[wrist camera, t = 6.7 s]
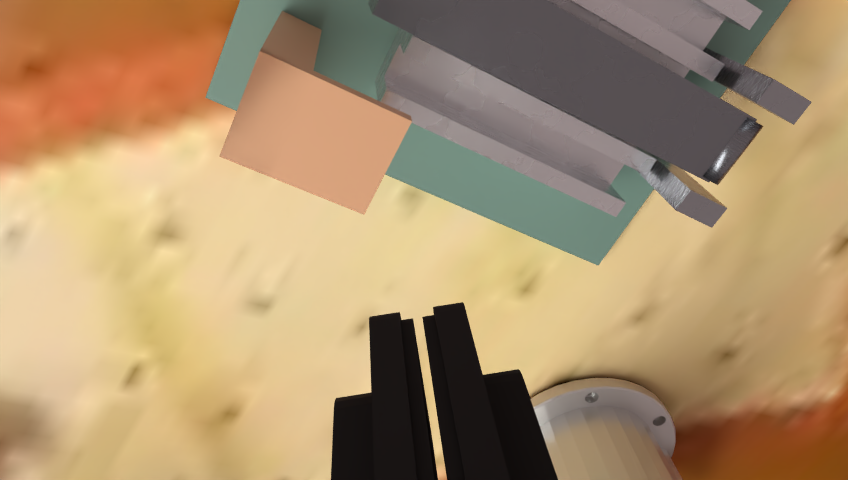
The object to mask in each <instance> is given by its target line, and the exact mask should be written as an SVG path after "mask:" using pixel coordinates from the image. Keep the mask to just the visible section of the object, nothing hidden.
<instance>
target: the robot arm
mask: <svg viewBox="0 0 848 480" xmlns="http://www.w3.org/2000/svg"><path fill="white" fill-rule="evenodd" d="M433 311H434V315H432V316H425V317H423V323H424V330H425V337H426V343H427V350H428V356H429V363H430V370H431V376H432V383H433V390H434V396H435V403H436V409H437V416H438V423H439V429H440V436H441V442H442V449H443V455H444V462H445V468H446V474H447V480H683V479H682V477H681V476H680V474H679V472H678V470H677V468H676V467H675V465H674V463H673V461H672V459H671V457H672V455H673V452H674V448H675V443H676V431H675V426H674V423H673V420H672V417H671V416H670V414H669V412H668V411H667V409H666V407H665V406H664V404H663V403H662V402H661V401H660V400H659V398H658V397H657V396H656V395H655V394H654V393H652V392H650V391H649V390H647V389H646V388H644V387H643V386H640V385H638V384H635V383H632V382H629V381H626V380H620V379H614V378H589V379H582V380H575V381H571V382H568V383H564V384H561V385H557V386H555V387H552V388H550V389H548V390H546V391H543V392H541V393H539V394H537V395H536V396H534V397H533V398H531V399H530V396H529V393H528V390H527V388H526V385H525V382H524V379H523V376H522V374H521V372H520V370H519V369H518V370H511V371H505V372H499V373H492V374H486V375H482V371H481V367H480V363H479V360H478V356H477V352H476V348H475V344H474V340H473V337H472V333H471V329H470V325H469V321H468V318H467V314H466V310H465V306H464V303H463V302H462V303H456V304H449V305H443V306H436V307H433ZM369 329H370V360H371V391H372V393H366V394H360V395H354V396H347V397H341V398H336V400H335V403H334V420H333V445H332V469H331V480H438V477H437V470H436V463H435V456H434V448H433V441H432V435H431V428H430V422H429V416H428V410H427V403H426V397H425V391H424V385H423V378H422V372H421V366H420V360H419V354H418V347H417V341H416V335H415V329H414V323H413V318H412V319H406V320H401V316H400V312H398V313H391V314H385V315H378V316H372V317H370V318H369Z"/></svg>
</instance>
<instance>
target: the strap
mask: <svg viewBox="0 0 848 480" xmlns="http://www.w3.org/2000/svg"><path fill="white" fill-rule="evenodd" d="M368 4H369V7H370V10H371V12H372V14H373V15H375V16H377V17H379V18H381V19H383V20H385V21H387V22H389V23H391V24H393V25H395V26H397V27H399V28H401V29H403V30H405V31H407V32H409V33H411V34H413V35H415V36H417V37H419V38H421V39H423V40H425V41H427V42H429V43H431V44H433V45H435V46H437V47H439V48H441V49H443V50H445V51H447V52H449V53H451V54H453V55H455V56H457V57H459V58H461V59H463V60H465V61H467V62H469V63H471V64H473V65H475V66H477V67H479V68H481V69H483V70H485V71H487V72H489V73H491V74H493V75H495V76H497V77H499V78H501V79H503V80H505V81H507V82H509V83H511V84H513V85H515V86H517V87H519V88H521V89H523V90H525V91H527V92H529V93H531V94H533V95H535V96H537V97H539V98H541V99H543V100H545V101H547V102H549V103H551V104H553V105H555V106H557V107H559V108H561V109H563V110H565V111H567V112H569V113H571V114H573V115H575V116H577V117H579V118H581V119H583V120H585V121H587V122H589V123H591V124H593V125H595V126H597V127H599V128H601V129H603V130H605V131H607V132H609V133H611V134H613V135H615V136H617V137H619V138H621V139H623V140H625V141H627V142H629V143H631V144H633V145H635V146H637V147H639V148H641V149H643V150H645V151H647V152H649V153H651V154H653V155H655V156H657V157H659V158H661V159H663V160H665V161H667V162H669V163H671V164H673V165H675V166H677V167H679V168H681V169H683V170H685V171H687V172H689V173H691V174H693V175H695V176H697V177H699V178H701V179H703V180H705V181H707V182H710V181H711V182H713V183H715V184H717V185H718V184H719V183H720V182H721V180H722V179H723V178H724V177H725V175H726V174H727V173H728V171H729V170H730V169H731V168H732V166H733V165H734V164H735V162H736V161H737V160H738V158H739V157H740V156H741V155H742V153H743V152H744V151H745V149H746V148H747V147H748V146H749V144H750V143H751V142H752V140H753V139H754V138H755V137H756V135H757V134H758V133H759V131H760V130H761V129H762V127H763V126H762V125H760V124H758V123H757V122H756V120H757V119H755V118H753V117H752V116H750V115H748V114H746V113H745V112H743V111H741V110H739V109H738V108H736V107H734V106H732V105H731V104H729V103H727V102H725V101H723V100H722V99H720V98H718V97H716V96H715V95H713V94H711V93H709V92H708V91H706V90H704V89H702V88H701V87H699V86H697V85H695V84H694V83H692V82H690V81H688V80H687V79H685V78H683V77H681V76H680V75H678V74H676V73H674V72H673V71H671V70H669V69H667V68H665V67H664V66H662V65H660V64H658V63H657V62H655V61H653V60H651V59H650V58H648V57H646V56H644V55H643V54H641V53H639V52H637V51H636V50H634V49H632V48H630V47H629V46H627V45H625V44H623V43H622V42H620V41H618V40H616V39H615V38H613V37H611V36H609V35H608V34H606V33H604V32H602V31H600V30H599V29H597V28H595V27H593V26H592V25H590V24H588V23H586V22H585V21H583V20H581V19H579V18H578V17H576V16H574V15H572V14H571V13H569V12H567V11H565V10H564V9H562V8H560V7H558V6H557V5H555V4H553V3H551V2H550V1H548V0H369V2H368Z"/></svg>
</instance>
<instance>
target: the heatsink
mask: <svg viewBox="0 0 848 480" xmlns="http://www.w3.org/2000/svg"><path fill="white" fill-rule="evenodd" d="M548 1H550V2H551V3H553V4H555V5H557V6H558V7H560V8H562V9H564V10H565V11H567V12H569V13H571V14H572V15H574V16H576V17H578V18H579V19H581V20H583V21H585V22H586V23H588V24H590V25H592V26H593V27H595V28H597V29H599V30H600V31H602V32H604V33H606V34H608V35H609V36H611V37H613V38H615V39H616V40H618V41H620V42H622V43H623V44H625V45H627V46H629V47H630V48H632V49H634V50H636V51H637V52H639V53H641V54H643V55H644V56H646V57H648V58H650V59H651V60H653V61H655V62H657V63H658V64H660V65H662V66H664V67H665V68H667V69H669V70H671V71H673V72H674V73H676V74H678V75H680V76H681V77H683V78H684V77H685V76H686V75H687V73H688V72H689V70H692V71H694V72H695V73H697V74H699V75H701V76H703V77H705V78H706V79H708V80H710V81H712V82H713V81H715V82H716V83H718V84H720V85H722V86H724V87H726V88H727V89H729V90H731V91H733V92H735V93H737V94H738V95H740V96H742V97H744V98H746V99H748V100H749V101H751V102H753V103H755V104H757V105H759V106H760V107H762V108H764V109H766V110H768V111H770V112H771V113H773V114H775V115H777V116H779V117H781V118H782V119H784V120H786V121H788V122H790V123H791V124H793V125H794V124H795V122H796V121H797V120H798V119H799V117H800V116H801V115H802V114H803V112H804V111H805V110H806V109H807V107H808V106H809V105H810V104H811V101H809V100H807V99H806V98H804V97H802V96H801V95H799V94H797V93H796V92H794V91H793V90H791V89H789V88H788V87H786V86H784V85H783V84H781V83H779V82H778V81H776V80H774V79H772V78H770V77H768V76H766V75H763V74H761V73H759V72H757V71H755V70H753V69H751V68H748V67H746V66H744V65H742V64H740V63H738V62H736V61H733V60H731V59H729V58H727V57H725V56H723V55H720V54H718V53H716V52H714V51H712V50H710V49H708V48H705V47H706V46H707V44H708V43H709V41H710V40H711V38H712V37H713V35H714V34H715V33H716V31H717V30H718V28H719V27H720V25H721V24H722V22H723V21H726V22H729V23H731V24H734V25H737V26H739V27H742V28H745V29H747V30H750V29H751V27H752V26H753V24H754V23H755V22H756V20H757V19H758V17H759V16H760V15H761V13H762V12H763V11H762V10H760V9H758V8H757V7H755V6H754V5H752V4H751V3H749V2H748V1H746V0H548ZM375 85H376V94H377V100H378V101H380V102H382V103H384V104H386V105H388V106H391V107H393V108H395V109H397V110H399V111H401V112H404V113H406V114H408V115H410V116H411V119H412V122H411V123H413V124H415V125H418V126H420V127H422V128H424V129H426V130H428V131H431V132H433V133H435V134H437V135H439V136H441V137H444V138H446V139H448V140H450V141H452V142H454V143H457V144H459V145H461V146H463V147H465V148H467V149H470V150H472V151H474V152H476V153H478V154H480V155H483V156H485V157H487V158H489V159H491V160H493V161H496V162H498V163H500V164H502V165H504V166H506V167H509V168H511V169H513V170H515V171H517V172H519V173H522V174H524V175H526V176H528V177H530V178H532V179H535V180H537V181H539V182H541V183H543V184H545V185H548V186H550V187H552V188H554V189H556V190H558V191H561V192H563V193H565V194H567V195H569V196H571V197H574V198H576V199H578V200H580V201H582V202H584V203H587V204H589V205H591V206H593V207H595V208H597V209H600V210H602V211H604V212H606V213H608V214H610V215H613V216H615V217H617V215H618V214H619V212H620V211H621V210H622V208H623V207H624V205H625V204H626V202H625V201H624V200H623V198H622V197H621V196H620V195H619V194H618V193H617V191H616V190H615V189H614V188H613V187H612V186H611V183H612V182H613V180H614V179H615V177H616V176H617V174H618V173H619V171H620V170H621V169H622V167H623V166H624V164H625V165H627V166H629V167H631V168H633V169H635V170H636V171H637V172H638V173H639V174H640V175H641V176H642V177H643V178H644V179H645V180H646V181H647V182H648V183H649V184H650V185H651V186H652V187H653V188H654V189H655V190H656V191H657V192H658V193H659V194H660V195H661V196H662V197H663V198H664V199H665V200H666V201H667V202H668V203H669V204H670V205H671V206H672V207H673V208H674V209H675V210H676V211H679V212H681V213H683V214H685V215H687V216H689V217H691V218H693V219H695V220H697V221H699V222H701V223H703V224H705V225H707V226H710V227H713V226H714V224H715V223H716V222H717V221H718V219H719V218H720V217H721V216H722V214H723V213H724V212H725V211H726V209H727V208H726V207H725V206H724V205H723V204H722V203H721V202H719V201H718V200H717V199H716V198H715V197H714V196H712V195H711V194H710V193H709V192H708V191H707V190H706V189H704V188H703V187H702V186H701V185H700V184H699V183H697V182H696V181H695V180H694V179H693V178H692V177H691V176H689V175H688V174H687V173H686V172H685V171H684V170H682V169H681V168H679V167H677V166H675V165H673V164H671V163H669V162H667V161H665V160H663V159H661V158H659V157H657V156H655V155H653V154H651V153H649V152H647V151H645V150H643V149H641V148H639V147H637V146H635V145H633V144H631V143H629V142H627V141H625V140H623V139H621V138H619V137H617V136H615V135H613V134H611V133H609V132H607V131H605V130H603V129H601V128H599V127H597V126H595V125H593V124H591V123H589V122H587V121H585V120H583V119H581V118H579V117H577V116H575V115H573V114H571V113H569V112H567V111H565V110H563V109H561V108H559V107H557V106H555V105H553V104H551V103H549V102H547V101H545V100H543V99H541V98H539V97H537V96H535V95H533V94H531V93H529V92H527V91H525V90H523V89H521V88H519V87H517V86H515V85H513V84H511V83H509V82H507V81H505V80H503V79H501V78H499V77H497V76H495V75H493V74H491V73H489V72H487V71H485V70H483V69H481V68H479V67H477V66H475V65H473V64H471V63H469V62H467V61H465V60H463V59H461V58H459V57H457V56H455V55H453V54H451V53H449V52H447V51H445V50H443V49H441V48H439V47H437V46H435V45H433V44H431V43H429V42H427V41H425V40H423V39H421V38H419V37H417V36H415V35H413V34H411V33H409V32H407V31H405V30H403V29H401V28H399V30H398V32H397V34H396V37H395V39H394V41H393V43H392V45H391V47H390V49H389V51H388V53H387V56H386V58H385V60H384V62H383V64H382V66H381V68H380V70H379V73H378V75H377V77H376V79H375Z"/></svg>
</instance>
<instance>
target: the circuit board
mask: <svg viewBox="0 0 848 480" xmlns="http://www.w3.org/2000/svg"><path fill="white" fill-rule="evenodd" d="M746 1H748V2H749V3H751V4H752V5H754V6H755V7H757V8H758V9H760V10H762V11H763V12H762V13H761V15H760V16H759V17H758V19H757V20H756V22H755V23H754V24H753V26H752V27H751V29H750V30H747V29H745V28H742V27H739V26H737V25H734V24H731V23H729V22H726V21H723V22H722V24H721V25H720V27H719V28H718V30H717V31H716V33H715V34H714V35H713V37H712V38H711V40H710V41H709V43H708V44H707V46H706V47H705V48H708V49H710V50H712V51H714V52H716V53H718V54H720V55H723V56H725V57H727V58H729V59H731V60H733V61H736V62H738V63H740V64H742V65H744V64H745V63H746V61H747V60H748V59H749V57H750V56H751V55H752V53H753V52H754V50H755V49H756V48H757V46H758V45H759V44H760V42H761V41H762V39H763V38H764V37H765V35H766V34H767V33H768V31H769V30H770V28H771V27H772V26H773V24H774V23H775V22H776V20H777V19H778V17H779V16H780V15H781V13H782V12H783V11H784V9H785V8H786V6H787V5H788V4H789V2H790V1H791V0H746ZM368 2H369V0H240V2H239V5H238V8H237V11H236V14H235V16H234V19H233V22H232V25H231V28H230V30H229V33H228V36H227V39H226V42H225V44H224V47H223V50H222V53H221V56H220V58H219V61H218V64H217V67H216V70H215V72H214V75H213V78H212V81H211V84H210V86H209V89H208V92H207V95H206V98H208V99H210V100H212V101H215V102H217V103H219V104H222V105H224V106H226V107H229V108H231V109H233V110H236V111H237V109H238V107H239V104H240V101H241V99H242V96H243V94H244V91H245V88H246V86H247V83H248V81H249V78H250V75H251V73H252V70H253V68H254V65H255V62H256V60H257V57H258V54H259V52H260V50H261V48H262V46H263V44H264V43H265V41H266V39H267V37H268V35H269V33H270V32H271V30H272V28H273V26H274V24H275V23H276V21H277V19H278V17H279V15H280V14H281V12H282V11H284V12H286V13H288V14H290V15H292V16H294V17H296V18H298V19H300V20H302V21H304V22H306V23H308V24H310V25H313V26H315V27H317V28H319V29H321V30H322V31H321V36H320V41H319V46H318V51H317V55H316V60H315V65H314V70H313V71H315V72H318V73H320V74H322V75H324V76H326V77H328V78H330V79H333V80H335V81H337V82H339V83H341V84H343V85H345V86H348V87H350V88H352V89H354V90H356V91H358V92H361V93H363V94H365V95H367V96H369V97H371V98H373V99H376V100H377V94H376V85H375V79H376V77H377V75H378V73H379V70H380V68H381V66H382V64H383V62H384V60H385V58H386V56H387V53H388V51H389V49H390V47H391V45H392V43H393V41H394V39H395V37H396V34H397V32H398V30H399V27H397V26H395V25H393V24H391V23H389V22H387V21H385V20H383V19H381V18H379V17H377V16H375V15H373V14H372V12H371V10H370V7H369V4H368ZM684 78H685V79H687V80H688V81H690V82H692V83H694V84H695V85H697V86H699V87H701V88H702V89H704V90H706V91H708V92H709V93H711V94H713V95H715V96H716V97H718V98H720V97H721V96H722V94H723V93H724V92H725V90H726V89H727V88H726V87H724V86H722V85H720V84H718V83H716V82H715V81H713V82H712V81H710V80H708V79H706V78H705V77H703V76H701V75H699V74H697V73H695V72H694V71H692V70H689V72H688V73H687V75H686V76H685V77H684ZM385 175H388V176H390V177H392V178H395V179H397V180H399V181H402V182H404V183H406V184H409V185H411V186H414V187H416V188H418V189H421V190H423V191H425V192H428V193H430V194H432V195H435V196H437V197H439V198H442V199H444V200H446V201H449V202H451V203H453V204H456V205H458V206H460V207H463V208H465V209H467V210H470V211H472V212H474V213H477V214H479V215H481V216H484V217H486V218H488V219H491V220H493V221H495V222H498V223H500V224H502V225H505V226H507V227H509V228H512V229H514V230H516V231H519V232H521V233H523V234H526V235H528V236H530V237H533V238H535V239H537V240H540V241H542V242H544V243H547V244H549V245H551V246H554V247H556V248H558V249H561V250H563V251H565V252H568V253H570V254H572V255H575V256H577V257H579V258H582V259H584V260H587V261H589V262H591V263H594V264H596V265H599V264H600V262H601V261H602V260H603V258H604V257H605V255H606V254H607V253H608V251H609V250H610V249H611V247H612V246H613V244H614V243H615V242H616V240H617V239H618V238H619V236H620V235H621V233H622V232H623V231H624V229H625V228H626V227H627V225H628V224H629V222H630V221H631V220H632V218H633V217H634V216H635V214H636V213H637V211H638V210H639V209H640V207H641V206H642V205H643V203H644V202H645V200H646V199H647V198H648V196H649V195H650V194H651V192H652V191H653V189H654V188H653V187H652V186H651V185H650V184H649V183H648V182H647V181H646V180H645V179H644V178H643V177H642V176H641V175H640V174H639V173H638V172H637V171H636V170H635V169H633V168H631V167H629V166H627V165H625V164H624V166H623V167H622V169H621V170H620V171H619V173H618V174H617V176H616V177H615V179H614V180H613V182H612V183H611V186H612V187H613V188H614V189H615V190H616V191H617V193H618V194H619V195H620V196H621V197H622V198H623V200H624V201H625V202H626V204H625V205H624V207H623V208H622V210H621V211H620V212H619V214H618V215H617V217H615V216H613V215H610V214H608V213H606V212H604V211H602V210H600V209H597V208H595V207H593V206H591V205H589V204H587V203H584V202H582V201H580V200H578V199H576V198H574V197H571V196H569V195H567V194H565V193H563V192H561V191H558V190H556V189H554V188H552V187H550V186H548V185H545V184H543V183H541V182H539V181H537V180H535V179H532V178H530V177H528V176H526V175H524V174H522V173H519V172H517V171H515V170H513V169H511V168H509V167H506V166H504V165H502V164H500V163H498V162H496V161H493V160H491V159H489V158H487V157H485V156H483V155H480V154H478V153H476V152H474V151H472V150H470V149H467V148H465V147H463V146H461V145H459V144H457V143H454V142H452V141H450V140H448V139H446V138H444V137H441V136H439V135H437V134H435V133H433V132H431V131H428V130H426V129H424V128H422V127H420V126H418V125H415V124H413V123H411V124H410V126H409V128H408V130H407V132H406V134H405V136H404V138H403V140H402V142H401V144H400V146H399V148H398V150H397V152H396V154H395V156H394V157H393V159H392V161H391V163H390V165H389V167H388V169H387V171H386V173H385Z"/></svg>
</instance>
